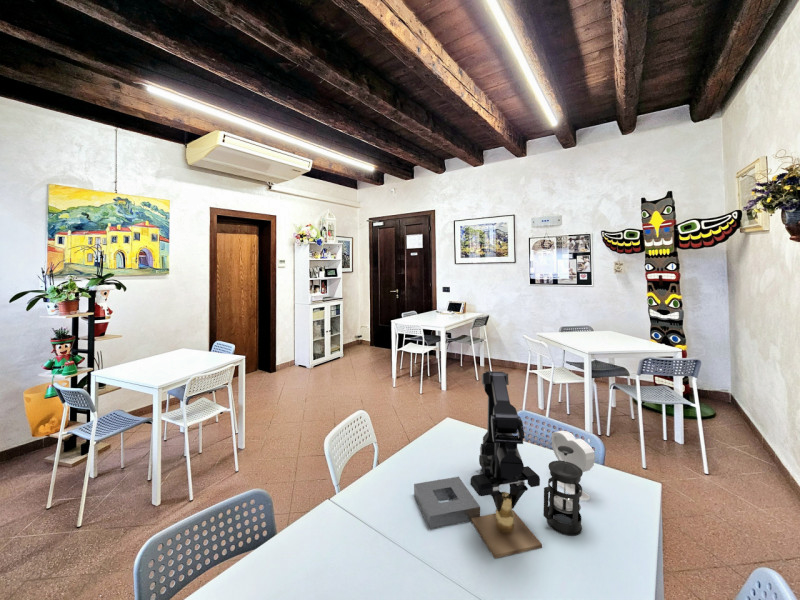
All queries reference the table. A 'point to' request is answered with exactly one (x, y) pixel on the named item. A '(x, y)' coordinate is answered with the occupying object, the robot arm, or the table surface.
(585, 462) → the heart sculpture
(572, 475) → the french press
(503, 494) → the knob
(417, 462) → the table surface
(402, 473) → the table surface
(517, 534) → the board
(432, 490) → the plate
